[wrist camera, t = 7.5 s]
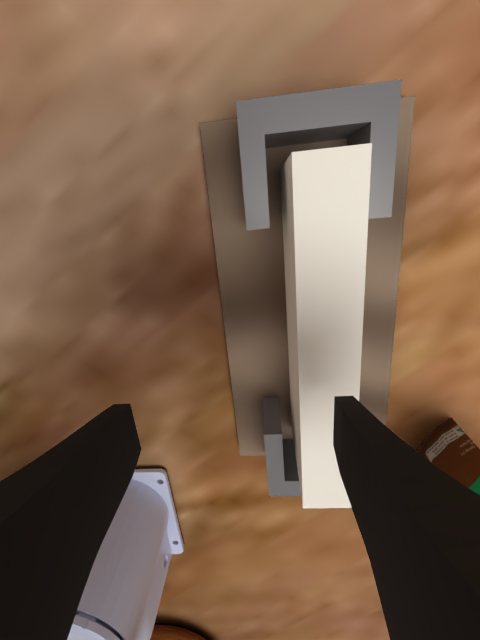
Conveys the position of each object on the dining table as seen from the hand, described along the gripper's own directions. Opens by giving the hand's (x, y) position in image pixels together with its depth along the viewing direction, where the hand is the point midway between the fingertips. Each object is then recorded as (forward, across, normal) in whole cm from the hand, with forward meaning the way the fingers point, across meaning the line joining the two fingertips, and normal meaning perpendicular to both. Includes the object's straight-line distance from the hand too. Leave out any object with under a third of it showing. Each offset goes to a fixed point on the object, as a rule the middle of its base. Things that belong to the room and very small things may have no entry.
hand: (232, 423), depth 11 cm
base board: (+9, -4, -1) cm, 10 cm away
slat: (+8, -4, -1) cm, 9 cm away
